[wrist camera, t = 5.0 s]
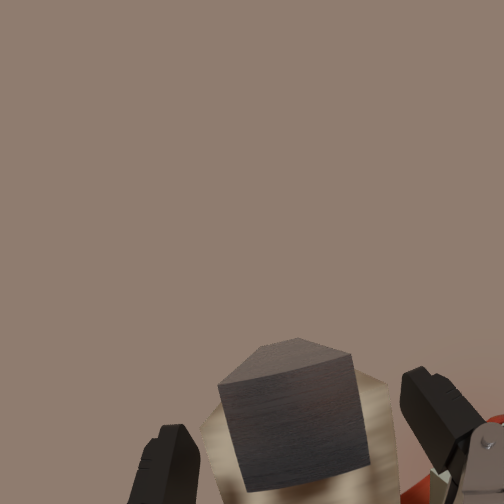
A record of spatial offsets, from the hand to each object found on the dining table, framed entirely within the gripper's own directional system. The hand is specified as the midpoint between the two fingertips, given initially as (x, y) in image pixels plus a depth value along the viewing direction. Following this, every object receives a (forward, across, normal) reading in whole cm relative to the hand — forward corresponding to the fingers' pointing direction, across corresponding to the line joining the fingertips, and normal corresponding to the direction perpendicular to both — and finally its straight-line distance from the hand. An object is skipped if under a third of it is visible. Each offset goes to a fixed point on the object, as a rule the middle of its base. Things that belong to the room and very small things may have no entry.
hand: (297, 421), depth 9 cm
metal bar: (+7, 0, +6) cm, 10 cm away
